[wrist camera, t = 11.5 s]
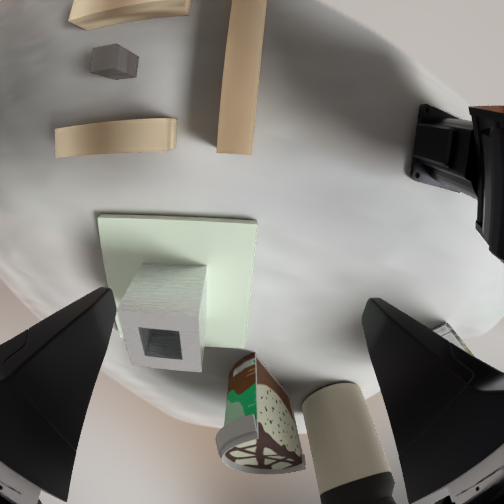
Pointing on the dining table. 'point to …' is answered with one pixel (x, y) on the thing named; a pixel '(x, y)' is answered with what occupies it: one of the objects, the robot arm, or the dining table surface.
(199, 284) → the steel collar
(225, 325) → the board
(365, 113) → the dining table surface
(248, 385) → the food container
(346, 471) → the travel mug
